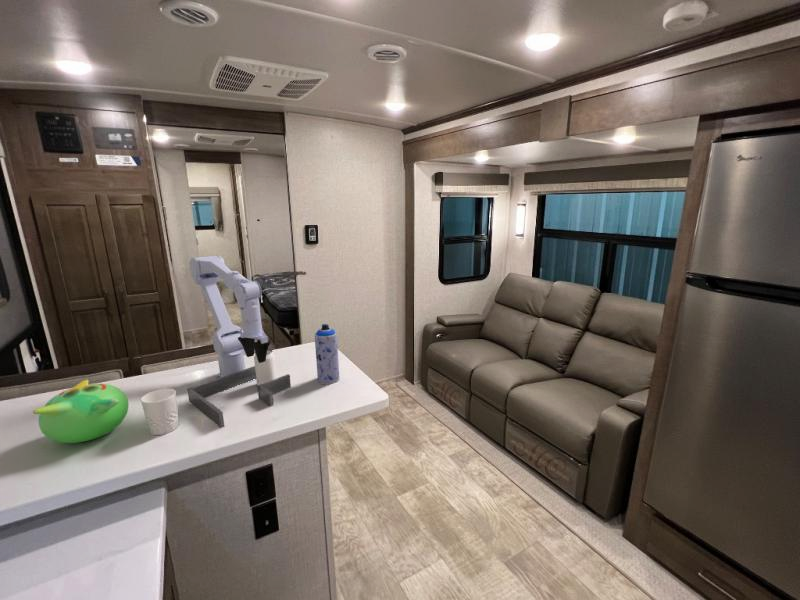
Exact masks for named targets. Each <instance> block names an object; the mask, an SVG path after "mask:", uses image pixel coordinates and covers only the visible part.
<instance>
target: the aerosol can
mask: <svg viewBox="0 0 800 600" xmlns="http://www.w3.org/2000/svg"><path fill="white" fill-rule="evenodd" d="M338 345H339V343H338V333H337V332H336V331H335V330H334V329H333V328H331V327H330V326H329V324H326V323H324V324H322V325H321V327H320V328H319V329H318V330H317V331H316V332H315V334H314V346H315V347H314V348H315V359H316V360H315V361H316V362H315V363H316V374H317V379H316V381H317V382H318V383H319V384H321V385H332V384H333V385H334V384H335V383H337V382H339V381H340V379H341V376H340V364H339V363H340V362H339V347H338Z"/></svg>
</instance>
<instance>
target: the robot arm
mask: <svg viewBox="0 0 800 600" xmlns="http://www.w3.org/2000/svg"><path fill="white" fill-rule="evenodd" d="M188 268H189V271H190V274H191V277H192V279H193V282H194V283H195V284H196V285H199V286H200V289H201V291H202V294H203V297H204V299H205V302H206V305H207V307H208V308H209V311H210V315H212V318H213V322H214V324H215V326H216V328H217V329H216V331H214V333H213V334H212V336H211V337H212V338H211V339H212V340H211V341H212V343H213V344H212V345H213V349H214V351H215V353H216V354H217V355H218V357H217V361H218V367H219V368H218V370H219V373H217V374H216V375H217V377H218V378H221V377H224V376H227V375H230V374H233V373H236V372H239V371H241V370H244V369H246V364H245V363H246V362H245V356H244V354H245V355H246V357H247V358H251V357H253V356H255V352H256V356H257V360H258V362H259V363H262V362H265V361H266V355H267V350H268V349H269V347H270V345H271V340H270V339H269V337H268V336H267V335H266V334H265V332H264V330H263V325H262V316H261V306H260V299H261V298H262V295H263V291H262V287H261V284H260V283H259V282H258V280H249V279H247V278H246V277H245V276H243V275H242V274H241V273H240V272H239V271H238V270H235V271H234V270H233V271H232V270H231V269H230V268H229V267H228V266H227V265H226V262H225V259H224V258H223V256H221V255H220V254H216V255H209V256H201V257H191V258H190V260H189V265H188ZM221 280H223V284H224V285H225V286H226V287H227V288H228V289H229V290H230V291H232V292H233V293H234V297H235V299H236V301H237V305H238V307H239V308H240V316H241V325H242V328H241V327H240V326H238V325H235V324H233V322H232V320H231V318H230V316H229V312H228V310H227V308H226V305H225V303H224V300H223V298H222V295H221V293H220V290H219V288H218V284H217V282H219V281H221Z"/></svg>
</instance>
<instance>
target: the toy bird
mask: <svg viewBox="0 0 800 600" xmlns="http://www.w3.org/2000/svg"><path fill="white" fill-rule="evenodd" d="M128 411H129V400H128V397H127V395H126V394H125V392H124V391H123V390H122V389H120V388H119V387H117V386H115V385H113V384H112V385H111V384H109V383H108V384H107V383H99V382H98V383H97V382H96V383H89V379H85V380H82V381H80V382H79V383H77V384H76V385H75V386H73V387H71V388H68V389H66V390H63V391H61V392H60V393H58V394H56V395H55V396H53V397H52V398H51V399H50V400H48V401H47V402H46V403H45V405H44V406H42V407H40V408H37V409H34V410H33V411H32V413H33V414H35V415H39V416H38V427H39V429H40V431H41V432H42V434H43V435H44V436H45V437H46V438H47V439H50V440H52V441H54V442H56V443H62V444H77V443H83V442H88V441H92V440H95V439H97V438H99V437H102V436H104V435H106V434H108V433H109V432H111V431H113V430H114V429H116V428H117V427H118V426H119V425H120V424H121V423H122V422H123V421H124V420H125V418H126V416H127V414H128Z"/></svg>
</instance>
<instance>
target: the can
mask: <svg viewBox="0 0 800 600" xmlns="http://www.w3.org/2000/svg"><path fill="white" fill-rule="evenodd" d="M253 360H254V366H255V371H256V379H255V380H256V387H257V386H258V385H261V384H264V383H266V382H269V381H271V380H274V379H277V378H278V377H277V367H276V357H275V354H274V352H273V349H271V348H268V350H267V355H266V361H265V362H262V363H259V362H258V360H257V356H256V352H255V351H254V357H253Z"/></svg>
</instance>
